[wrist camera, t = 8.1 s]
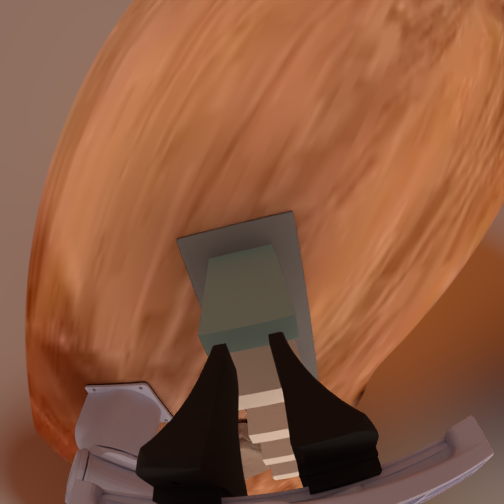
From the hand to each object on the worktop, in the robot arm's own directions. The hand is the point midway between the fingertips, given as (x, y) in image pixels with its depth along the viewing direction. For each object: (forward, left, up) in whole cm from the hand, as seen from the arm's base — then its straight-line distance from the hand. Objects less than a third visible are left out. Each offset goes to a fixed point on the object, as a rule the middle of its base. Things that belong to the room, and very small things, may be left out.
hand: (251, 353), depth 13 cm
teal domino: (0, 0, -10) cm, 10 cm away
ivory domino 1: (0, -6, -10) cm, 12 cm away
